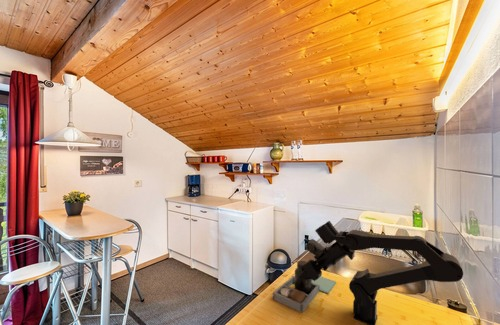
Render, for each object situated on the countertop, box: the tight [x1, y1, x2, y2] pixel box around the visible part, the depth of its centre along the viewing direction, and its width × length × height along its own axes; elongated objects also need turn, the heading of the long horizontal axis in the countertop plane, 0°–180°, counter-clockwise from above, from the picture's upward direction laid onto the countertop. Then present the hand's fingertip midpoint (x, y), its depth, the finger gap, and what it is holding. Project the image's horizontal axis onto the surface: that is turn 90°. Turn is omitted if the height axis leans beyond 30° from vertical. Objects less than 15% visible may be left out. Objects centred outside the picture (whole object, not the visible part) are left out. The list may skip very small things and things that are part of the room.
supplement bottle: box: [294, 260, 313, 295], centre depth 90 cm, size 7×7×12 cm
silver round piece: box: [281, 288, 291, 299], centre depth 86 cm, size 4×4×3 cm
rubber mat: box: [312, 275, 337, 295], centre depth 97 cm, size 11×11×1 cm
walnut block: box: [290, 288, 305, 303], centre depth 83 cm, size 4×4×4 cm
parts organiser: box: [272, 275, 320, 313], centre depth 88 cm, size 12×17×2 cm
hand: (304, 273), depth 90 cm, fingers open, 9 cm apart
